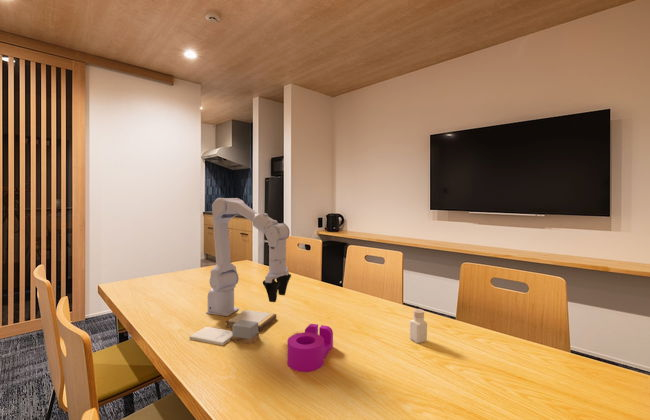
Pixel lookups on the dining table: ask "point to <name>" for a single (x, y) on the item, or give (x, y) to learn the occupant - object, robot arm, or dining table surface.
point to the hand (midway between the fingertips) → (277, 298)
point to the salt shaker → (418, 327)
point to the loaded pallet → (245, 331)
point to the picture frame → (253, 318)
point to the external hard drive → (212, 336)
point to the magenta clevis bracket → (309, 348)
